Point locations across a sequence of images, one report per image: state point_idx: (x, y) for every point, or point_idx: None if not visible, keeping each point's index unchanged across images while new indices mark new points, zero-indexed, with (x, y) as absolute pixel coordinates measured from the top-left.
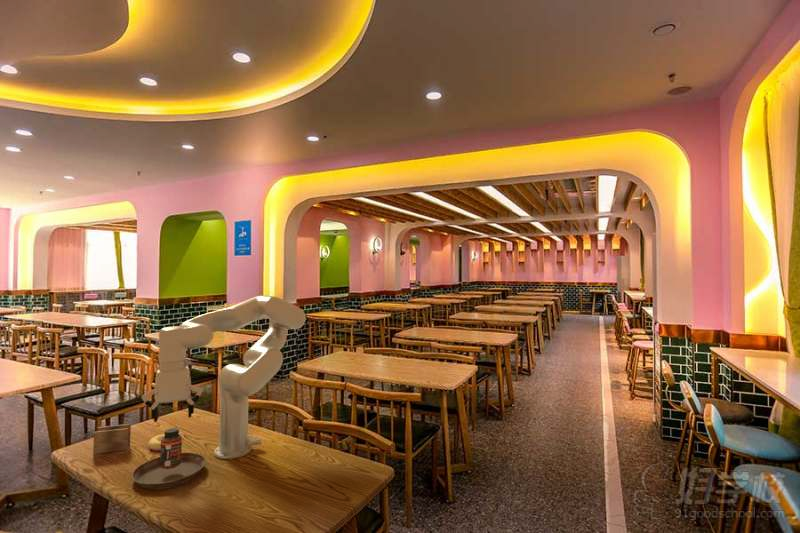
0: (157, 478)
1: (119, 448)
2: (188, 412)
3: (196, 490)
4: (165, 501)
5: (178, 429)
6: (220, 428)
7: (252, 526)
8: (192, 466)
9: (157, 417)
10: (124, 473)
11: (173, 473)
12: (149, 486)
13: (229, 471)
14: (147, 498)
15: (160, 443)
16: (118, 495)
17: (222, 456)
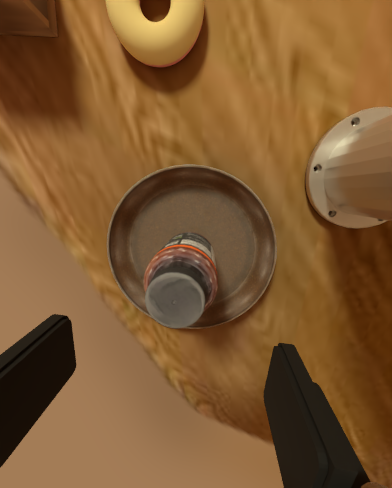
0: None
1: (21, 21)
2: (274, 440)
3: (241, 336)
4: (188, 349)
5: (204, 304)
6: (389, 178)
7: None
8: (241, 229)
9: (61, 357)
10: (89, 194)
11: None
12: None
13: (318, 288)
14: (157, 326)
15: (146, 46)
16: (104, 293)
17: (323, 215)
